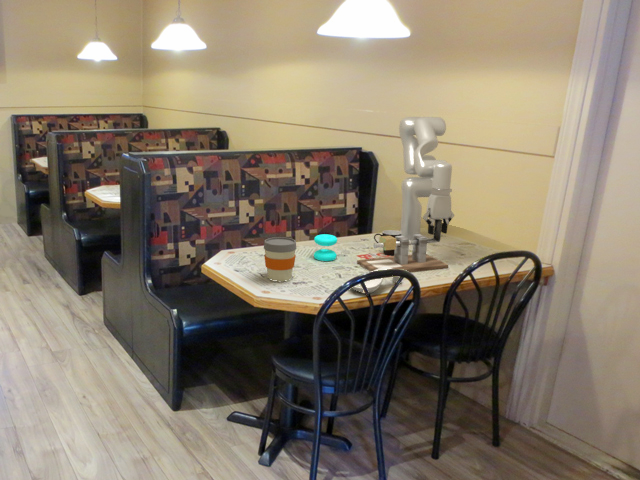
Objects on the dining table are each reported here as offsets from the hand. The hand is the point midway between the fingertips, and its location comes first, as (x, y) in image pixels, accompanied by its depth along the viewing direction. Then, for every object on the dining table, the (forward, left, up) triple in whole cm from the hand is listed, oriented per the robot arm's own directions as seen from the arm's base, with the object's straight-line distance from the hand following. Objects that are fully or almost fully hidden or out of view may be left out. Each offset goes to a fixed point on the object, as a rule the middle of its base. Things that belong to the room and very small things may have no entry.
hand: (437, 233), depth 253 cm
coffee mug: (-19, -12, -13) cm, 26 cm away
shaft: (0, -15, -4) cm, 15 cm away
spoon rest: (+21, -41, -14) cm, 48 cm away
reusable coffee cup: (-1, -71, -13) cm, 73 cm away
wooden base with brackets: (0, -17, -13) cm, 21 cm away
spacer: (0, -24, -5) cm, 25 cm away
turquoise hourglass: (-20, -43, -13) cm, 50 cm away
